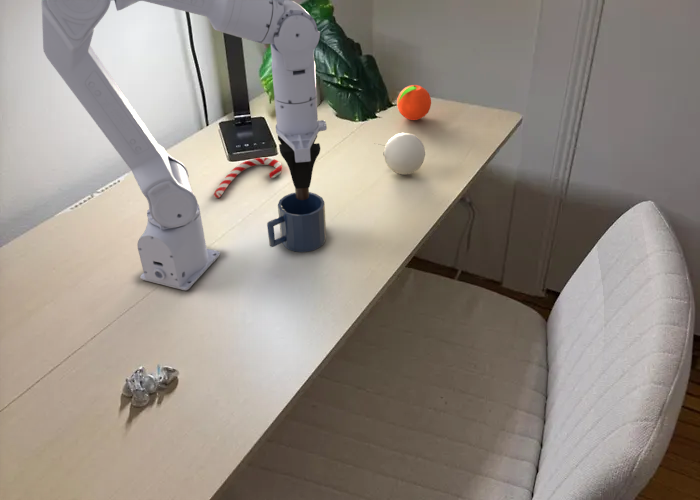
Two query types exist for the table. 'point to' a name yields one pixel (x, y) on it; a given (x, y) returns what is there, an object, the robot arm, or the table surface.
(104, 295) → the table surface
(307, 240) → the mug
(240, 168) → the candy cane
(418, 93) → the clementine
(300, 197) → the stick
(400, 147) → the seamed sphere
